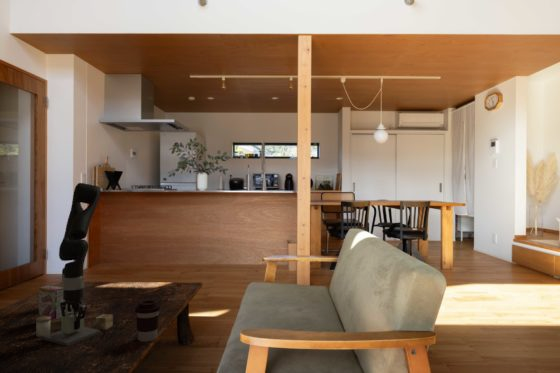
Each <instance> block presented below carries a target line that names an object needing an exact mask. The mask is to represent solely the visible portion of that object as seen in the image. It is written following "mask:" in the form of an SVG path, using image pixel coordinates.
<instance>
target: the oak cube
mask: <svg viewBox="0 0 560 373" xmlns="http://www.w3.org/2000/svg"><path fill="white" fill-rule="evenodd" d="M113 320H114V315H113V314H109V313H108V314H104V313H102V314H100V315H99V316H96V317H95V328H94V329H97V330H101V331H102V330H104V331H105V330H108V329H109V328H112V327H113V325H114V324H113V322H114V321H113Z"/></svg>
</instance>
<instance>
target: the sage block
mask: <svg viewBox="0 0 560 373" xmlns="http://www.w3.org/2000/svg"><path fill="white" fill-rule="evenodd" d="M76 316H77V317H78V314H77V315H76ZM81 316H82V315H81ZM74 321H75V320H74V316H73V315H72V314H71V315H68V316H65V317H62V320H61V330H60V331H61V332H63V333H67V334H70V333H72V332H75V331H78V330H81V329H83V328H84V327H85V317H84V318H83V319H81V320H80V328H79V329H77V330H74Z"/></svg>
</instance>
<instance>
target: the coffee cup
mask: <svg viewBox="0 0 560 373" xmlns="http://www.w3.org/2000/svg"><path fill="white" fill-rule="evenodd" d="M161 308H162V307H161V304H160V303H158V302H157V301H156V300H153V299H149V300H142V301H140V302H139V303H138V304H137V305H135V307H134V312H135V313H136V315H135V316H136V317H135V318H136V320H135V321H136V330H137V339H138V340H137V341H139V342H142V343H148V342H153V341H154V340H156V339H157V338H158V337H157V336H158V329H159V322H160V321H159V320H160V312H159V311H160V310H161Z"/></svg>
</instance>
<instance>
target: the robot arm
mask: <svg viewBox="0 0 560 373" xmlns="http://www.w3.org/2000/svg"><path fill="white" fill-rule="evenodd" d="M100 197H101V187H99V186H98V185H93V184H89V183H84V182H78V183H77V184H76V186H75V188H74V190H73V195H72V200H71V201H72V202H71V206H70V211H69V215H68V219H67V221H66V226H65V231H64V234H63V235H64V236H63V238H62V241H61V243H60V245H59V248H58V249H59V250H58V257H59V259H60V260H61V261H62V262H67V261H68V262H67V263H65V264H64V267H63V268H62V270H61V287H62V288H63V299H64V300H65V302H61V303H60V307H61V313H62V317H65V316H68V315H71V314H72V315H73V316H74V320H75V321H74V330H77V329H79V328H80V320H81V319H83V318H84V319H85V316H86V312H87V307H88V306H87V305H86V304H83V302H82V299H84V297H85V296H84V294H85V293H84V290H85V280H84V265H85V262H86V261H85V260H86V257H87V254H88V252H89V251H88V250H89V248H90V247H89V243H88V241H87V240H86V237H87V236H88V233H89V232H88V231H89V229H90V228H89V227H90V224H91V221H92V218H93V215H94V213H95V210H96V208H97V206H98V202H99V200H100ZM81 203H82V204H86V205H87V204H88V206H87V207H86V208H83V207H82V204H81ZM64 310H65V313H64ZM77 314H78V317H77V316H76V315H77ZM81 315H82V316H81Z"/></svg>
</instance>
